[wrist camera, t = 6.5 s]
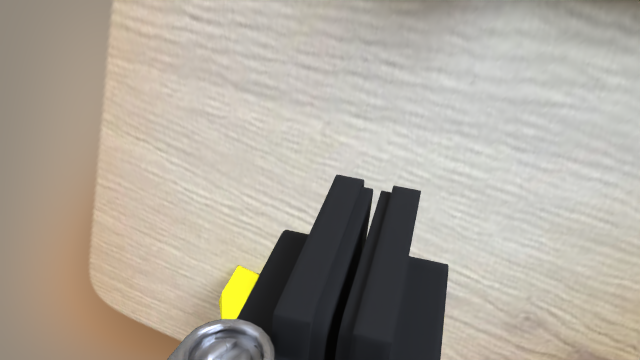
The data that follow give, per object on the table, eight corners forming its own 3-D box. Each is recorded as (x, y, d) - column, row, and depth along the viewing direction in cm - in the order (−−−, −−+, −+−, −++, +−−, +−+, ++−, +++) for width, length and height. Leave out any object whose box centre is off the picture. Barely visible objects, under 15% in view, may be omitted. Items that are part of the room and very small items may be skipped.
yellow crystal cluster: (248, 238, 31) (182, 343, 24) (381, 300, 30) (351, 422, 24) (223, 307, 34) (160, 415, 28) (344, 363, 34) (308, 485, 27)
